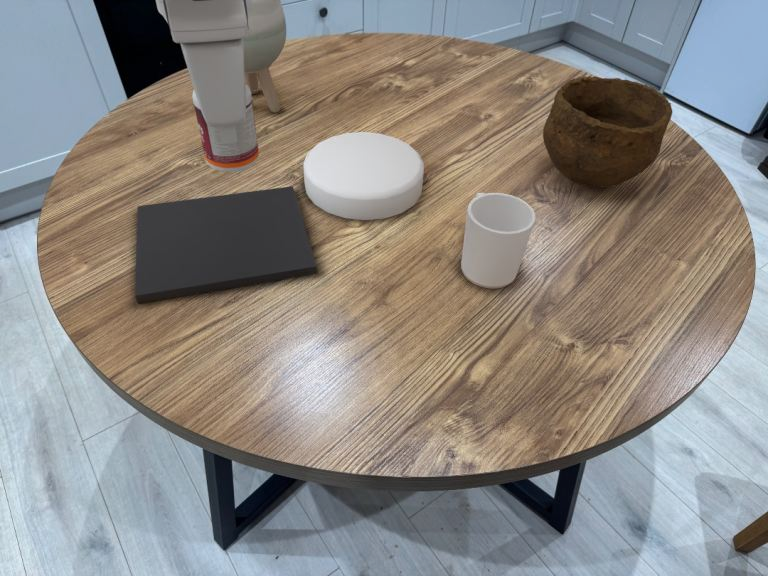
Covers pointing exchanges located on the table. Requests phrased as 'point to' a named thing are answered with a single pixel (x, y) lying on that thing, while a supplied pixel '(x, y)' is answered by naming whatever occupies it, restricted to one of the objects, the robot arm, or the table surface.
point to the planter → (264, 47)
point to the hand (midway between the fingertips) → (226, 123)
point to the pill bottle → (230, 154)
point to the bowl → (605, 130)
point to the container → (363, 176)
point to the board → (220, 243)
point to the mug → (495, 238)
